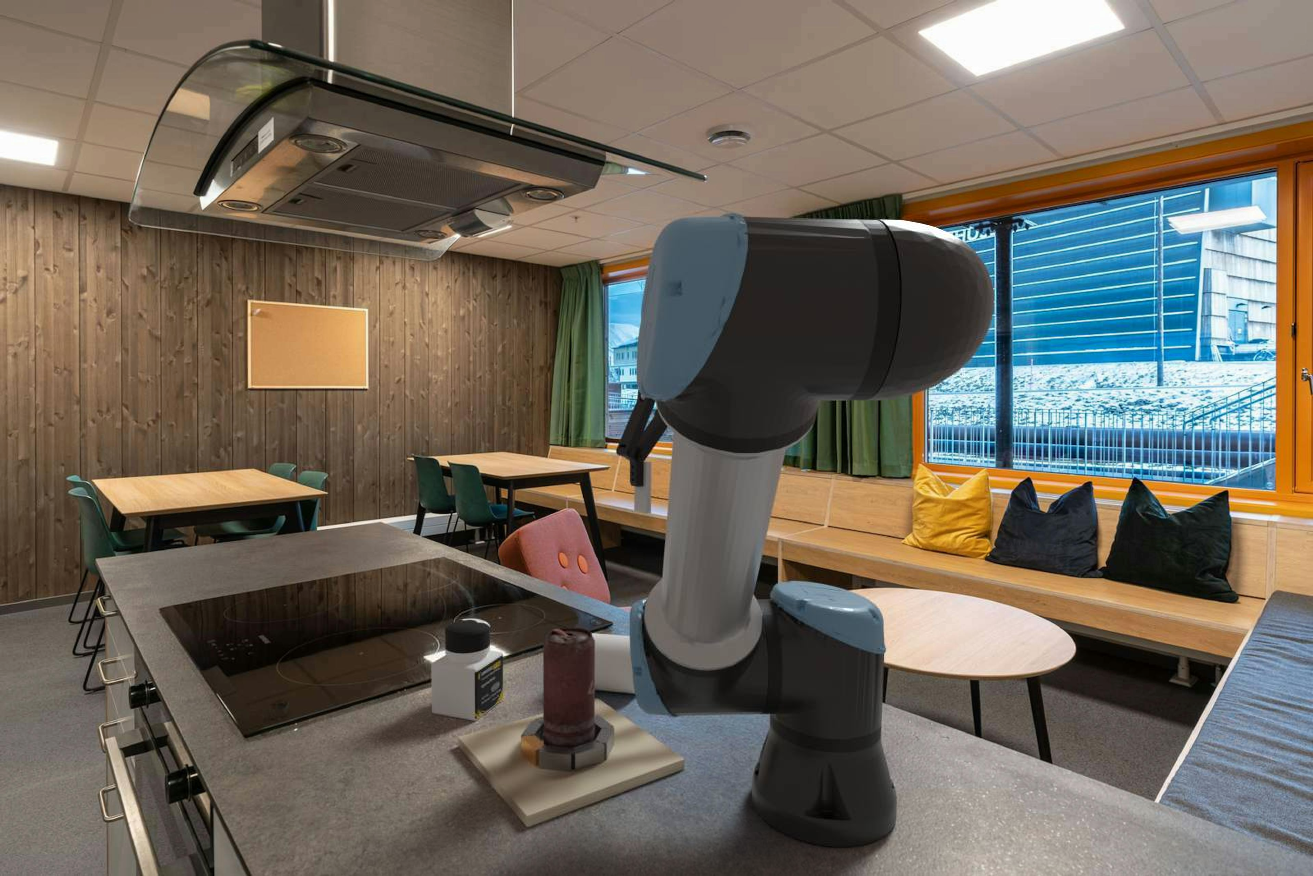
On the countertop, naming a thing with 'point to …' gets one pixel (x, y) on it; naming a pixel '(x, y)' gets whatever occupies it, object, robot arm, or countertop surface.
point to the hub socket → (565, 756)
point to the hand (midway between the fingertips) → (684, 507)
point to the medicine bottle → (467, 672)
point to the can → (568, 687)
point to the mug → (613, 663)
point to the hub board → (562, 791)
